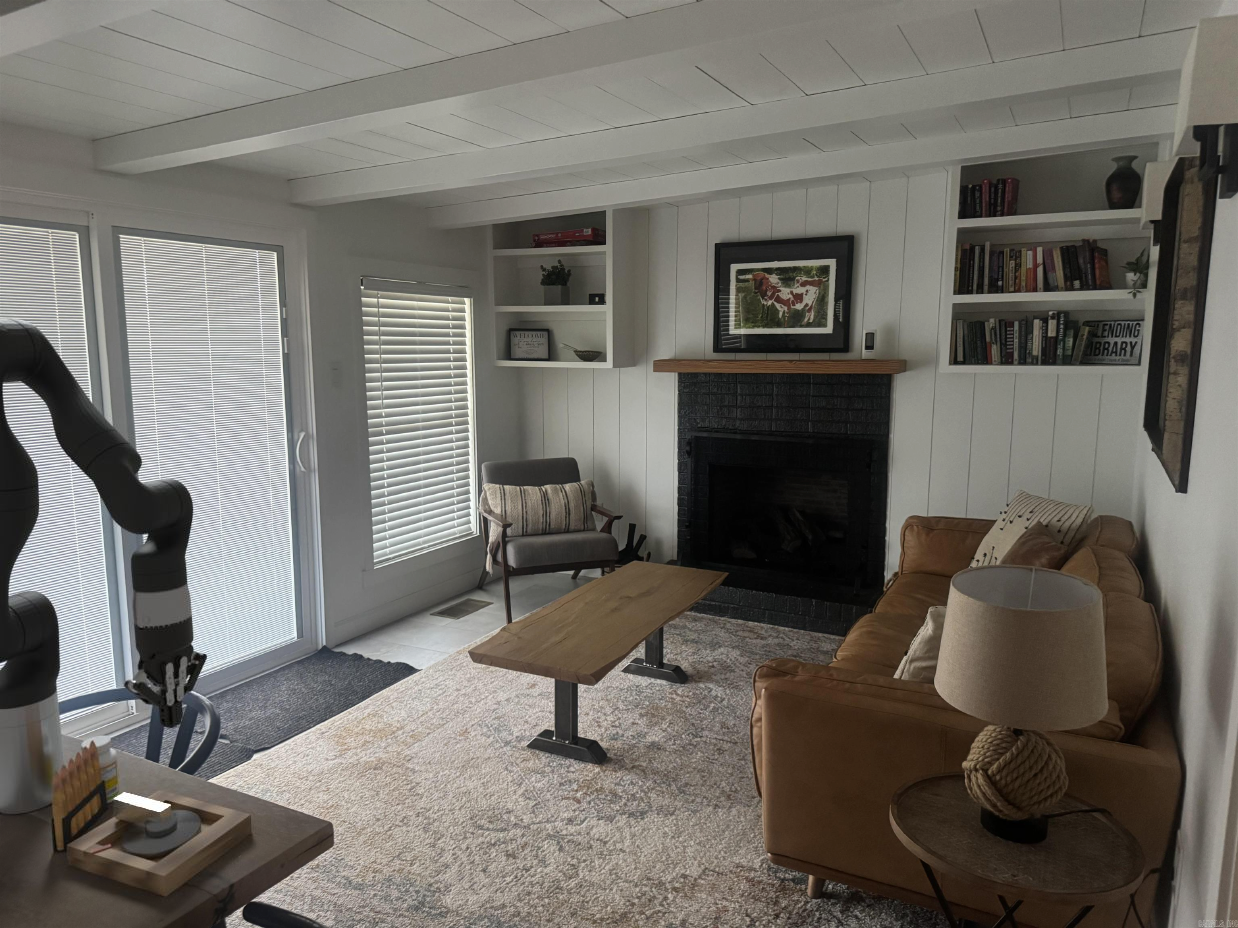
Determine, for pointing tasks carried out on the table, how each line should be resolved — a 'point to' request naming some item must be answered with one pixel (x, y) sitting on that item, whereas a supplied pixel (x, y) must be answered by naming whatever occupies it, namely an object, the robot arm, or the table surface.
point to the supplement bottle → (107, 764)
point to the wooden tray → (165, 873)
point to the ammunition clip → (77, 798)
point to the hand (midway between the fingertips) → (171, 725)
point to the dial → (154, 826)
